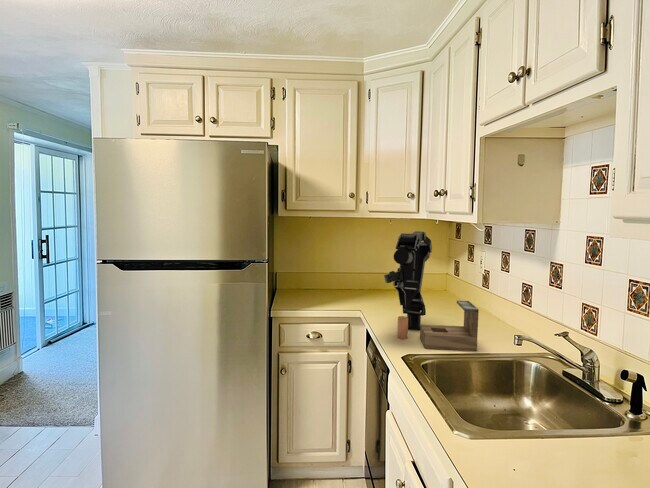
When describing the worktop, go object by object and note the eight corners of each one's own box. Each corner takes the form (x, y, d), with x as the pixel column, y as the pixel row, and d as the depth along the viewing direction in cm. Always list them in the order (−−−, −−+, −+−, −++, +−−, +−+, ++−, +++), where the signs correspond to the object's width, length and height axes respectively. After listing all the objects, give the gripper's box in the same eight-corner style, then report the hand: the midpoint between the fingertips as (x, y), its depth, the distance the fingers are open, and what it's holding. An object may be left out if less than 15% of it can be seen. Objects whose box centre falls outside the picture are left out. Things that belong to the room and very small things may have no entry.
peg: (396, 335, 162) (397, 316, 161) (407, 336, 162) (407, 316, 161) (397, 339, 158) (398, 318, 157) (408, 339, 158) (408, 319, 157)
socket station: (419, 336, 161) (421, 299, 160) (467, 339, 159) (468, 300, 158) (425, 348, 147) (426, 307, 146) (476, 351, 146) (478, 309, 144)
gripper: (382, 264, 168) (379, 302, 167) (391, 263, 149) (388, 306, 148) (409, 266, 168) (406, 304, 167) (421, 266, 149) (418, 309, 148)
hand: (404, 306), depth 158 cm, fingers open, 9 cm apart
